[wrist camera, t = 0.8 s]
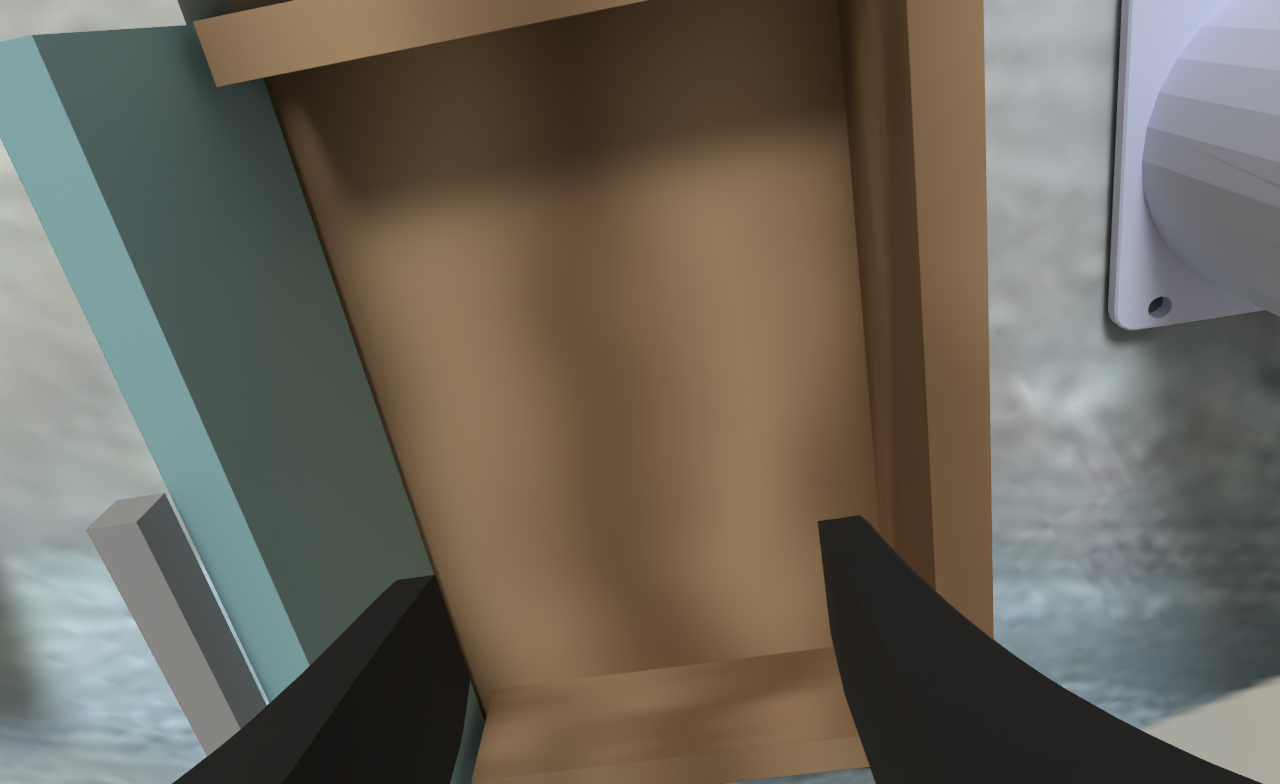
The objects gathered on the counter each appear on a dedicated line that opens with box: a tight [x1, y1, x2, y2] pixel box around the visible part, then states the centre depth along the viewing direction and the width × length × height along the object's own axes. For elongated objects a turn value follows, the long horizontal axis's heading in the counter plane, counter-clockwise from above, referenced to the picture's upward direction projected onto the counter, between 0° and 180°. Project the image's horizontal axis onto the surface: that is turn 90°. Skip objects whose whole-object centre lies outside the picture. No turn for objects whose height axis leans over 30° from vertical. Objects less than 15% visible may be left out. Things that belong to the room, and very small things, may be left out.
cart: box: [178, 0, 994, 784], centre depth 18 cm, size 13×20×7 cm, turn 10°
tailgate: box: [0, 25, 485, 784], centre depth 17 cm, size 2×18×7 cm, turn 10°
